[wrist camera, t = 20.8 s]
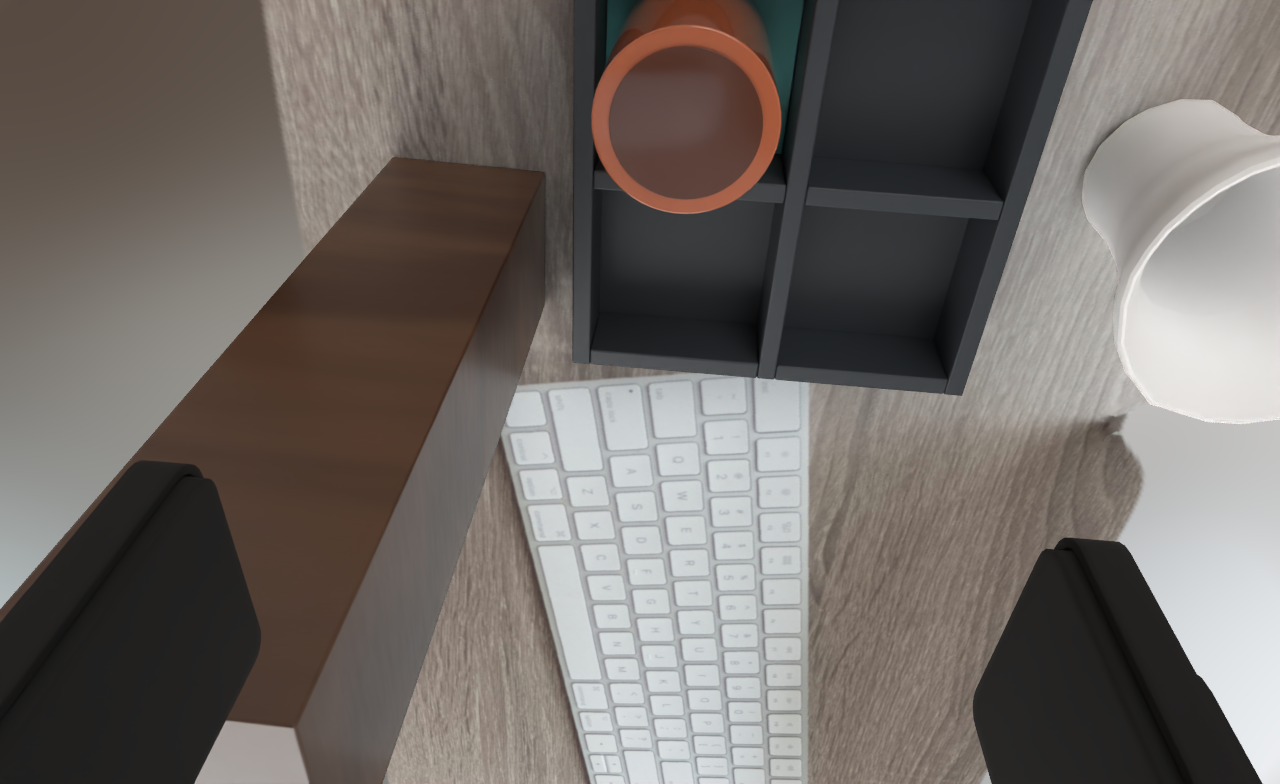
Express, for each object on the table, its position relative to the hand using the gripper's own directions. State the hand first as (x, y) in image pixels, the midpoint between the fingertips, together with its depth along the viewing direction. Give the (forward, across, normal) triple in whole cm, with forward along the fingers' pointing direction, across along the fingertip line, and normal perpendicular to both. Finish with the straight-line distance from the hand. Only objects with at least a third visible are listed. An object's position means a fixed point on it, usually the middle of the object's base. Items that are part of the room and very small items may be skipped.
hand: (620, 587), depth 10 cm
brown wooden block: (+25, +8, +8) cm, 27 cm away
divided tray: (+25, -5, +4) cm, 25 cm away
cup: (+25, -18, +3) cm, 31 cm away
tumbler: (+24, -1, 0) cm, 24 cm away
